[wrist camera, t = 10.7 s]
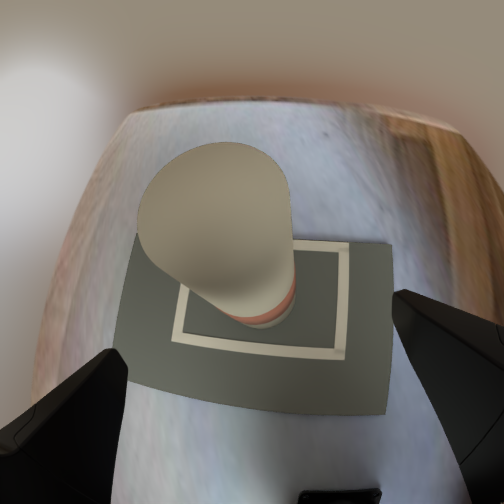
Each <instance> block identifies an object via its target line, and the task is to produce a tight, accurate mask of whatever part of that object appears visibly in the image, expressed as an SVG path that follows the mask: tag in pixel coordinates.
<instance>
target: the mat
mask: <svg viewBox="0 0 504 504" xmlns="http://www.w3.org/2000/svg"><path fill="white" fill-rule="evenodd" d="M293 253H294V262H295V273H296V289H295V303H294V306H293V308H292V311H291V312H290V314H289V315H288V316H287V318H286V319H285V320H283V321H282V322H281V323H279V324H278V325H276V326H273V327H271V328H266V329H256V328H251V327H248V326H246V325H244V324H242V323H241V322H238V321H236V320H235V319H233V318H231V317H230V316H228V315H226V314H225V313H223V312H222V311H220V310H219V309H217V308H216V307H215V306H214V305H213V304H211V303H210V302H208V301H207V300H205V299H204V298H202V297H201V296H199V295H198V294H196V293H195V292H193V291H192V290H190V289H189V288H187V287H186V286H184V285H183V284H181V283H180V282H179V281H177V280H176V279H174V278H173V277H171V276H170V275H168V274H167V273H166V272H164V271H163V270H161V269H160V268H159V267H157V266H156V265H155V264H154V263H153V262H152V261H151V260H150V259H149V257H148V256H147V255H146V253H145V252H144V250H143V248H142V245H141V243H140V240H139V236H138V233H137V234H136V237H135V241H134V245H133V249H132V253H131V256H130V260H129V265H128V269H127V273H126V277H125V282H124V286H123V291H122V296H121V301H120V306H119V311H118V316H117V322H116V328H115V334H114V340H113V347H112V348H115V349H117V350H118V352H119V353H120V355H121V356H122V358H123V359H124V361H125V363H126V364H127V366H128V381H131V382H134V383H137V384H141V385H144V386H147V387H151V388H154V389H158V390H161V391H165V392H169V393H173V394H177V395H181V396H185V397H189V398H194V399H198V400H203V401H208V402H213V403H218V404H224V405H230V406H236V407H242V408H249V409H256V410H264V411H273V412H283V413H295V414H310V415H340V416H355V415H385V413H386V406H387V399H388V391H389V382H390V373H391V361H392V346H393V320H392V315H391V313H392V295H393V293H394V281H393V257H392V245H389V244H373V243H357V242H340V241H322V240H303V239H293Z"/></svg>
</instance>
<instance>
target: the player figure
mask: <svg viewBox="0 0 504 504" xmlns="http://www.w3.org/2000/svg"><path fill="white" fill-rule="evenodd" d="M137 230H138V236H139V240H140V243H141V245H142V248H143V250H144V252H145V253H146V255H147V256H148V257H149V259H150V260H151V261H152V262H153V263H154V264H155V265H156V266H157V267H159V268H160V269H161V270H163V271H164V272H166V273H167V274H168V275H170V276H171V277H173V278H174V279H176V280H177V281H179V282H180V283H181V284H183V285H184V286H186V287H187V288H189V289H190V290H192V291H193V292H195V293H196V294H198V295H199V296H201V297H202V298H204V299H205V300H207V301H208V302H210V303H211V304H213V305H214V306H215V307H216V308H217V309H219V310H220V311H222V312H223V313H225V314H226V315H228V316H230V317H231V318H233V319H235V320H236V321H238V322H241V323H242V324H244V325H246V326H248V327H251V328H256V329H266V328H271V327H273V326H276V325H278V324H279V323H281V322H282V321H283V320H285V319H286V318H287V316H288V315H289V314H290V312H291V311H292V308H293V306H294V303H295V289H296V273H295V262H294V253H293V236H292V221H291V207H290V194H289V188H288V184H287V181H286V178H285V176H284V174H283V172H282V170H281V169H280V167H279V166H278V165H277V163H276V162H275V161H274V160H273V159H272V158H271V157H269V156H268V155H267V154H265V153H264V152H262V151H260V150H258V149H256V148H254V147H251V146H248V145H245V144H240V143H232V142H220V143H212V144H207V145H203V146H199V147H196V148H194V149H191V150H189V151H187V152H185V153H183V154H181V155H179V156H178V157H176V158H175V159H173V160H172V161H171V162H169V163H168V164H167V165H166V166H164V167H163V168H162V169H161V170H160V171H159V172H158V174H157V175H156V176H155V177H154V178H153V180H152V181H151V183H150V184H149V186H148V187H147V189H146V191H145V193H144V195H143V197H142V200H141V203H140V206H139V210H138V217H137Z"/></svg>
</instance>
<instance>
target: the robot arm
mask: <svg viewBox="0 0 504 504" xmlns="http://www.w3.org/2000/svg"><path fill="white" fill-rule="evenodd" d="M391 315H392V320H393V323H394V325H395V328H396V330H397V332H398V335H399V337H400V339H401V342H402V344H403V347H404V349H405V352H406V354H407V356H408V359H409V361H410V363H411V365H412V367H413V369H414V370H415V372H416V374H417V376H418V378H419V380H420V382H421V384H422V386H423V388H424V390H425V392H426V394H427V396H428V398H429V400H430V402H431V404H432V406H433V408H434V410H435V412H436V414H437V416H438V418H439V421H440V423H441V425H442V427H443V429H444V432H445V434H446V436H447V438H448V441H449V443H450V445H451V448H452V450H453V452H454V455H455V457H456V460H457V462H458V465H460V466H459V468H460V470H461V473H462V476H463V478H464V481H465V484H466V487H467V489H468V492H469V495H470V498H471V501H472V504H501V503H503V502H504V327H503V326H501V325H498V324H496V325H495V323H493V322H490V321H488V320H485V319H483V318H480V317H478V316H475V315H473V314H470V313H467V312H465V311H462V310H460V309H457V308H454V307H452V306H449V305H447V304H444V303H441V302H439V301H436V300H433V299H431V298H428V297H426V296H423V295H420V294H418V293H415V292H412V291H409V290H407V289H402V290H399V291H396V292H394V293H393V295H392V313H391ZM127 380H128V366H127V364H126V363H125V361H124V359H123V358H122V356H121V355H120V353H119V352H118V350H117V349H115V348H108V349H104V350H103V351H102V352H100V353H99V354H98V355H96V356H95V357H94V358H93V359H91V360H90V361H89V362H87V363H86V364H85V365H84V366H82V367H81V368H80V369H79V370H77V371H76V372H75V373H73V374H72V375H71V376H70V377H68V378H67V379H66V380H65V381H63V382H62V383H61V384H59V385H58V386H57V387H56V388H54V389H53V390H52V391H51V392H49V393H48V394H47V395H46V396H44V397H43V398H42V399H41V400H39V401H38V402H37V403H36V404H34V405H33V406H32V407H31V408H29V409H28V410H27V411H25V412H24V413H23V414H22V415H20V416H19V417H17V418H16V419H15V420H13V421H12V422H11V423H9V424H8V425H6V426H5V427H3V428H2V429H1V430H0V504H111V494H112V485H113V476H114V468H115V461H116V454H117V448H118V441H119V435H120V430H121V424H122V419H123V414H124V407H125V398H126V388H127ZM375 493H378V494H377V495H375V496H373V495H374V494H375ZM304 495H308V497H306V498H304V497H303V496H304ZM381 496H382V492H381V490H380V489H378V488H375V489H364V490H346V491H309V490H306V491H302V492H301V493H300V494H299V498H298V502H297V504H379V502H380V499H381Z"/></svg>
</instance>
